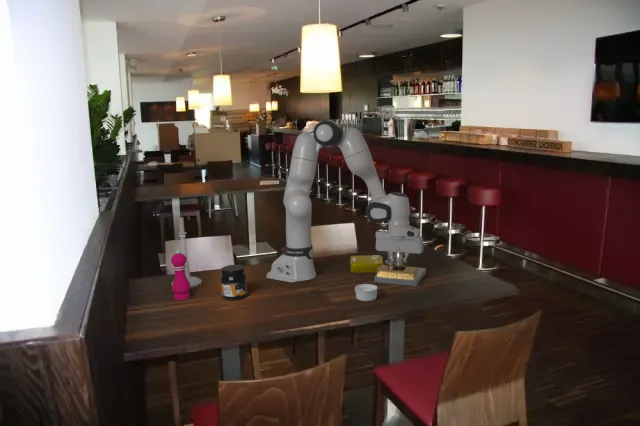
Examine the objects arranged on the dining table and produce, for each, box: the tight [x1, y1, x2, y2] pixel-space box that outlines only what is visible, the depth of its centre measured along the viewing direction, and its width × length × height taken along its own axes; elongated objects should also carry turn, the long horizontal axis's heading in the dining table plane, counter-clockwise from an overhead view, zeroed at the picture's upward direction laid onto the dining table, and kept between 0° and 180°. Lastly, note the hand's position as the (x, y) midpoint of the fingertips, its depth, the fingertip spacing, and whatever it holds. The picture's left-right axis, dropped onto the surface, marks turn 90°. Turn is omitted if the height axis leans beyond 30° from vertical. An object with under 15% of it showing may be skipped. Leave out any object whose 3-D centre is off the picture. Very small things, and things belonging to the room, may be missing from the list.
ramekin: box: [354, 283, 378, 302], centre depth 204 cm, size 9×9×4 cm
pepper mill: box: [170, 249, 191, 301], centre depth 210 cm, size 7×7×20 cm
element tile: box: [349, 254, 384, 274], centre depth 244 cm, size 15×15×5 cm
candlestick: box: [171, 216, 202, 288], centre depth 228 cm, size 13×13×30 cm
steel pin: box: [395, 247, 404, 270], centre depth 224 cm, size 4×4×12 cm
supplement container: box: [219, 264, 249, 301], centre depth 210 cm, size 10×10×12 cm
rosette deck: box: [373, 251, 427, 287], centre depth 226 cm, size 18×18×12 cm
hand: (399, 262), depth 224 cm, fingers closed on steel pin, 3 cm apart
